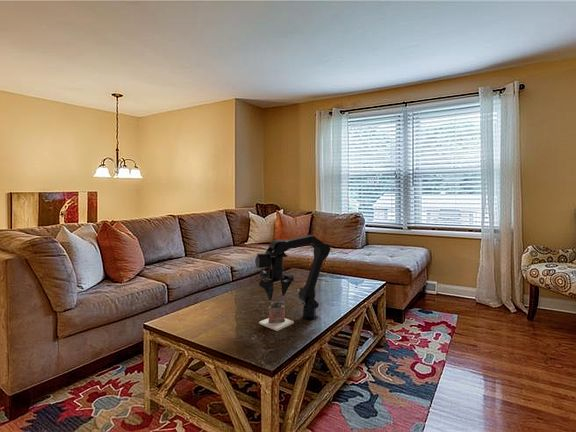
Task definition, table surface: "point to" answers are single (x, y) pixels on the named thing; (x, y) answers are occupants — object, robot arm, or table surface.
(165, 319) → the table surface
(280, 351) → the table surface
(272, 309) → the lighter
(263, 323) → the coaster
